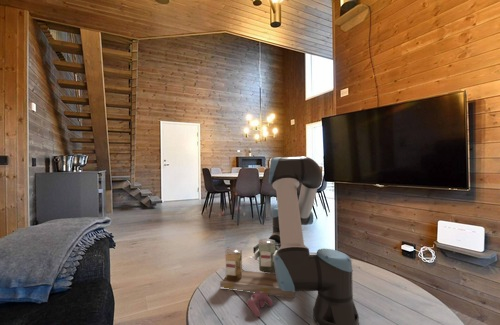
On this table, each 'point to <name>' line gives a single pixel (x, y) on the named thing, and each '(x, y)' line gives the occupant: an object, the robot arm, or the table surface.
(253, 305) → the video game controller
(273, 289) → the wooden tray
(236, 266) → the mustard tin
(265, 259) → the green tin
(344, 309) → the robot arm
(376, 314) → the table surface
